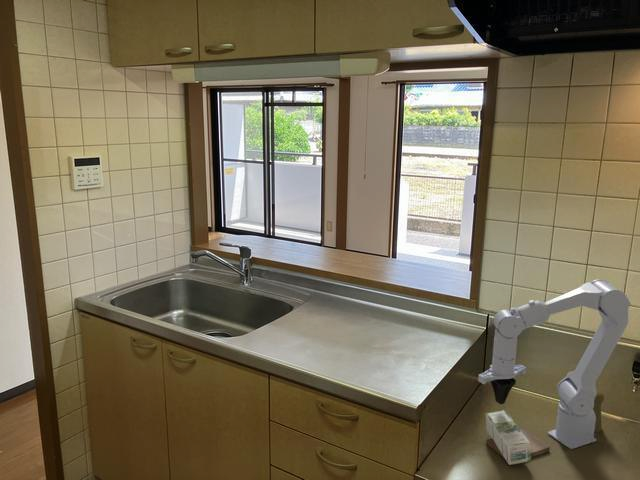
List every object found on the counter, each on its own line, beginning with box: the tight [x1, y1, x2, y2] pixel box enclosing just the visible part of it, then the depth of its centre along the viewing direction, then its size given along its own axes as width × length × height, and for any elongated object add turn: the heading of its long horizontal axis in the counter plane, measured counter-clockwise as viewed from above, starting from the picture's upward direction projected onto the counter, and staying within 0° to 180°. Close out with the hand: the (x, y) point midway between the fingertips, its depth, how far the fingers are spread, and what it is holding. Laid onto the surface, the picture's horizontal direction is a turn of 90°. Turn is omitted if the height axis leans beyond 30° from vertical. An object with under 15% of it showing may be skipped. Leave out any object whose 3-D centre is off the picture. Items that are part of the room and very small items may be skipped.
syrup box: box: [485, 409, 532, 465], centre depth 135 cm, size 6×6×14 cm
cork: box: [593, 388, 605, 433], centre depth 146 cm, size 6×6×11 cm
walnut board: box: [485, 428, 551, 460], centre depth 137 cm, size 13×9×1 cm
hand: (499, 402), depth 141 cm, fingers closed
